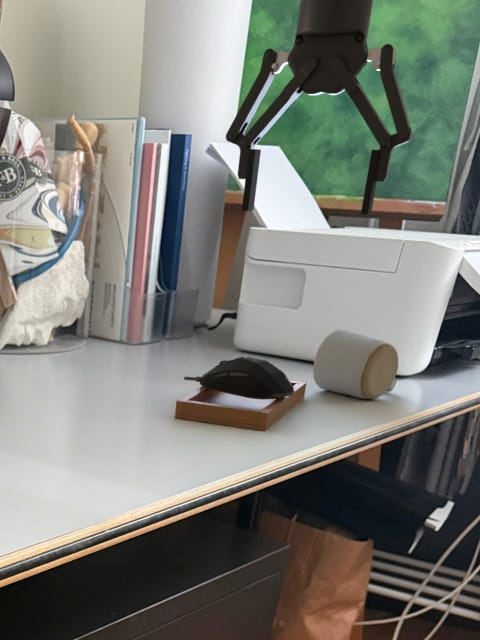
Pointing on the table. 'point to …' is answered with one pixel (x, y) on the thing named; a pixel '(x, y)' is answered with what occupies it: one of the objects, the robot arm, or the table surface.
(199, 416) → the wooden tray
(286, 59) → the robot arm
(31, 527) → the table surface
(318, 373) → the ceramic mug
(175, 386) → the table surface
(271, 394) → the gaming mouse
